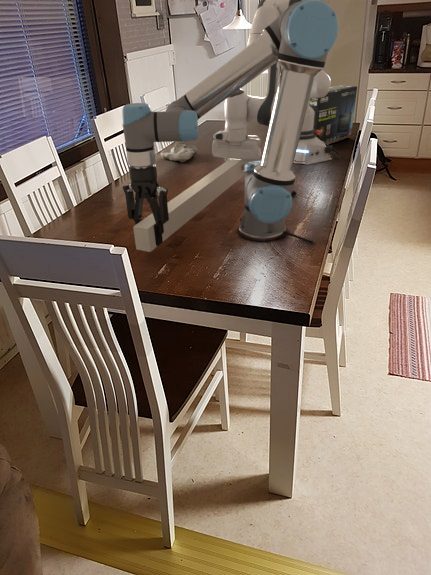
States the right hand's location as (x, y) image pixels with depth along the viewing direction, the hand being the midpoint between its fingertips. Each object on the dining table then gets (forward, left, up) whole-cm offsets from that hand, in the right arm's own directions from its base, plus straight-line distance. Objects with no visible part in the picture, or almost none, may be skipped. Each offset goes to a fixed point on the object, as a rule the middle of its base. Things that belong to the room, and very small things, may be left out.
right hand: (236, 169), depth 188 cm
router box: (-67, -44, -7) cm, 80 cm away
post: (+23, +26, -3) cm, 34 cm away
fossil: (+13, -50, -7) cm, 52 cm away
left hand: (+46, +51, -2) cm, 69 cm away
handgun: (-14, +11, -7) cm, 19 cm away
